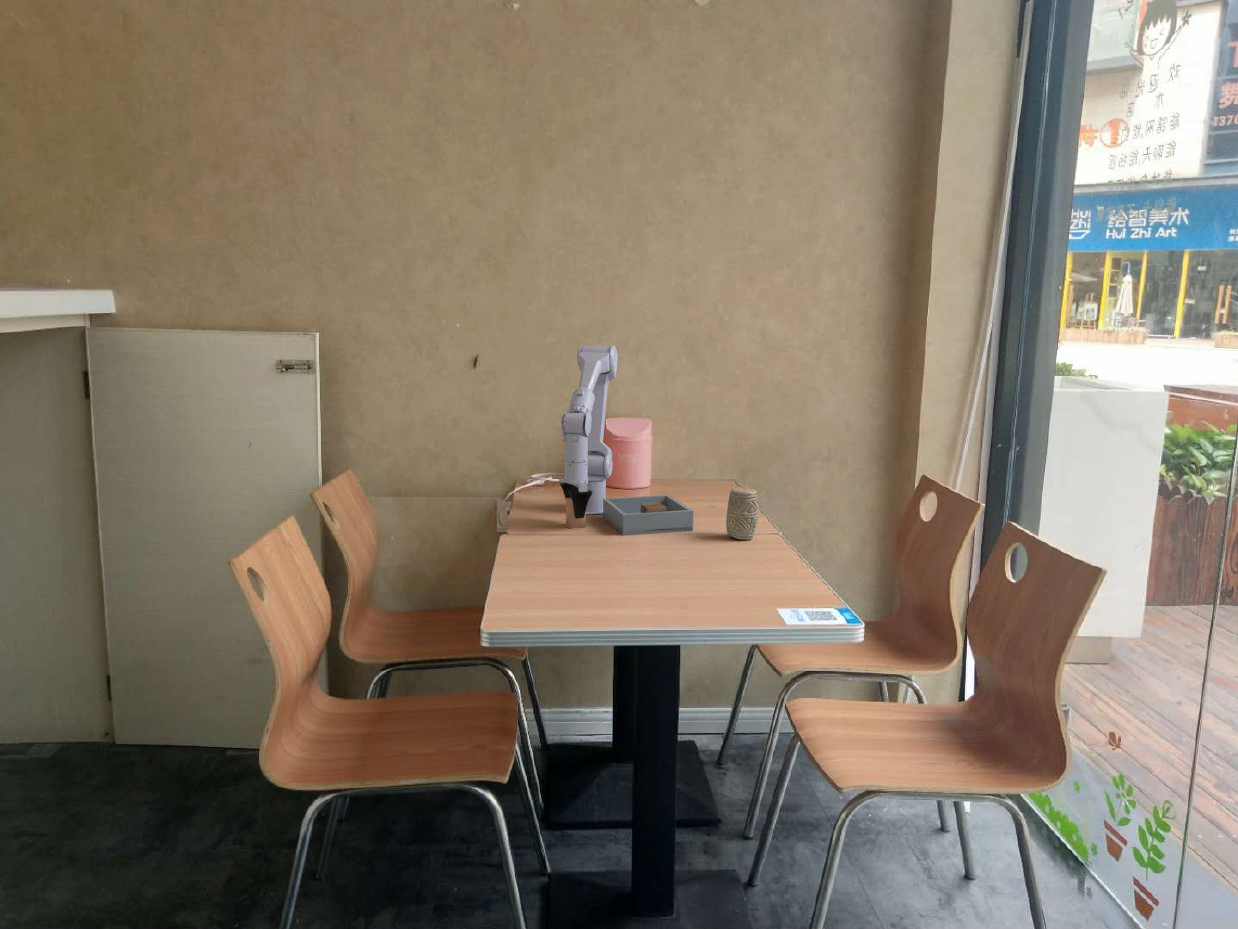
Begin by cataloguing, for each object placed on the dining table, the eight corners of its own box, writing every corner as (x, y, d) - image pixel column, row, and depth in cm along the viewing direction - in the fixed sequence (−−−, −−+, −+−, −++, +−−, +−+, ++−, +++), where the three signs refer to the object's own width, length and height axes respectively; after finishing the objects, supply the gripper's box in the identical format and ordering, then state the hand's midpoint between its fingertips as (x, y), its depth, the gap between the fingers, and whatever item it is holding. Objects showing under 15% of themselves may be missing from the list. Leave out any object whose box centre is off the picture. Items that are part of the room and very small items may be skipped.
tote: (602, 517, 235) (603, 498, 234) (668, 513, 240) (668, 494, 239) (623, 535, 218) (623, 515, 217) (692, 530, 223) (693, 510, 222)
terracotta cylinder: (563, 524, 227) (563, 497, 226) (583, 523, 229) (583, 496, 227) (568, 529, 223) (568, 501, 221) (588, 528, 224) (588, 500, 223)
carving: (758, 541, 214) (760, 492, 212) (726, 541, 214) (728, 491, 212) (755, 534, 220) (757, 486, 218) (724, 534, 220) (726, 486, 218)
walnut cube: (640, 523, 226) (640, 503, 225) (659, 521, 227) (659, 502, 226) (646, 528, 221) (647, 508, 220) (665, 526, 222) (666, 507, 221)
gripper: (553, 456, 228) (553, 508, 231) (567, 466, 215) (566, 522, 217) (580, 455, 230) (580, 507, 233) (595, 465, 217) (595, 520, 219)
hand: (575, 514), depth 225 cm, fingers open, 7 cm apart
